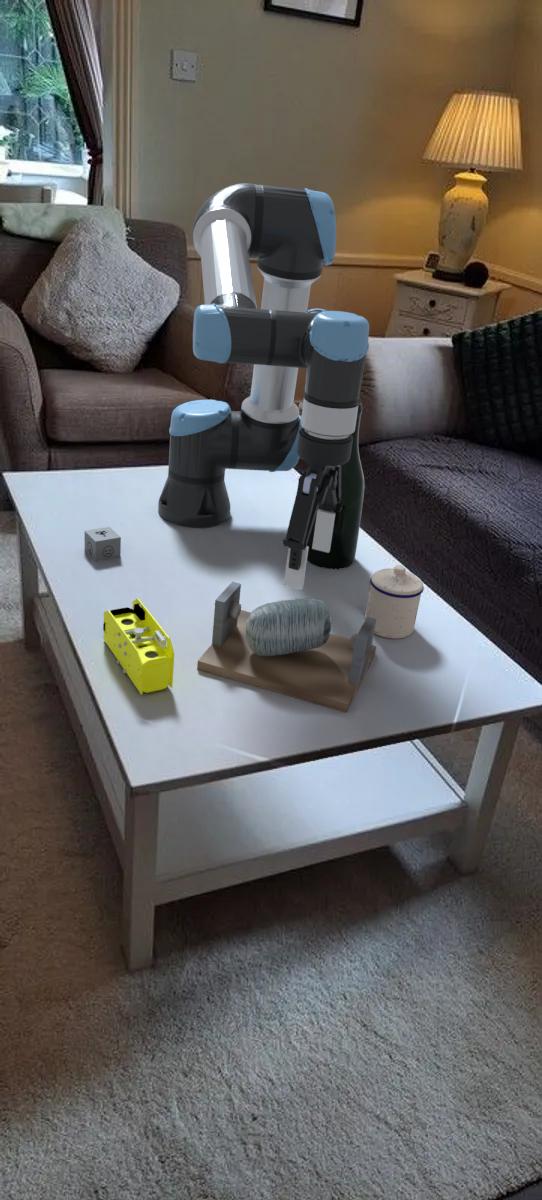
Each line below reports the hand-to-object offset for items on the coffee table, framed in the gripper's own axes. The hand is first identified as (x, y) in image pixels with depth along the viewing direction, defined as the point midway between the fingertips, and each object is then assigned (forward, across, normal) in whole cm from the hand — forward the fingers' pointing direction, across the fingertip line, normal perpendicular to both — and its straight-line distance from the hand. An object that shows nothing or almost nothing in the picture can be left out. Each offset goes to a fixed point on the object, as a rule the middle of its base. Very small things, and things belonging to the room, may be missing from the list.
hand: (307, 567), depth 129 cm
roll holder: (+17, 0, -1) cm, 17 cm away
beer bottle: (+18, -39, -6) cm, 43 cm away
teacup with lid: (+17, -20, +10) cm, 28 cm away
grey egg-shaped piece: (+16, -1, 0) cm, 16 cm away
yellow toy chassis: (+17, +13, -21) cm, 30 cm away
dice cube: (+18, -16, -44) cm, 50 cm away
